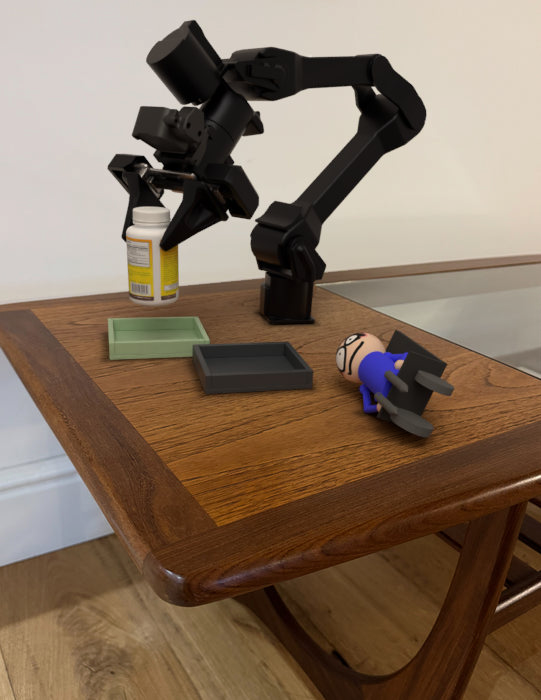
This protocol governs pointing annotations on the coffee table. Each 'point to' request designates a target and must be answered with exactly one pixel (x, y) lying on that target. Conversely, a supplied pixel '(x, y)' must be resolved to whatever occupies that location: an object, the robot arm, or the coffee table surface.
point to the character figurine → (394, 377)
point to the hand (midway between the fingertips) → (142, 244)
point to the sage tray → (154, 337)
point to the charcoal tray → (250, 367)
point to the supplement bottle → (151, 259)
